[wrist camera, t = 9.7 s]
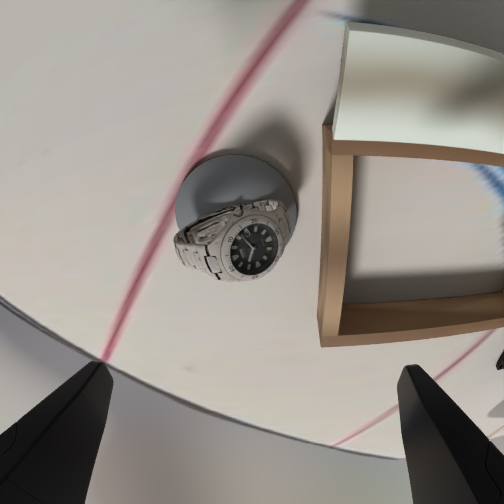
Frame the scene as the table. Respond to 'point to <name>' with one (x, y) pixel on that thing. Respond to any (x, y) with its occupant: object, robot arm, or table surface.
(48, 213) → the table surface
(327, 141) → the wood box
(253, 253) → the wristwatch
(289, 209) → the felt pad
